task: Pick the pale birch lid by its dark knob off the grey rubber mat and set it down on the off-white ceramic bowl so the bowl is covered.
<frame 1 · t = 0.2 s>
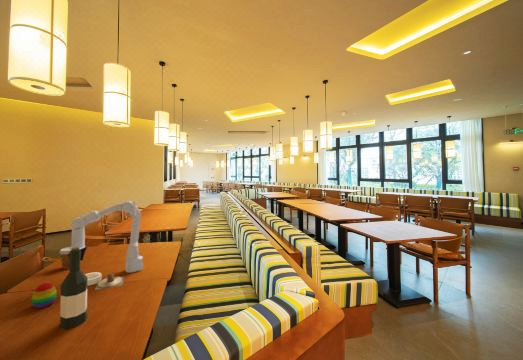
hand: (77, 262, 125), 10 cm above the table, fingers open, 7 cm apart
decorative egg: (44, 305, 101), on the table
wine bottle: (73, 322, 90), on the table
mat: (110, 284, 121), on the table
disposable coffee cup: (69, 267, 142), on the table
bowl: (89, 283, 122), on the table
lid: (110, 282, 121), point 1 cm above the table, touching mat
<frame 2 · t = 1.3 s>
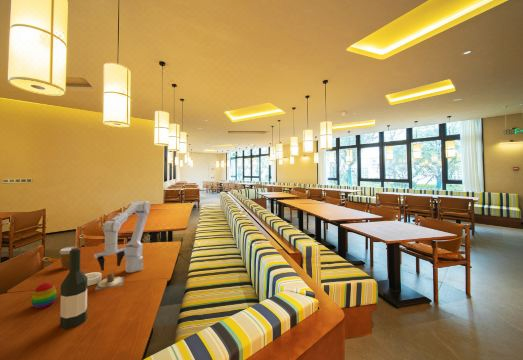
hand: (110, 267, 121), 9 cm above the table, fingers open, 7 cm apart
nothing on the table moved.
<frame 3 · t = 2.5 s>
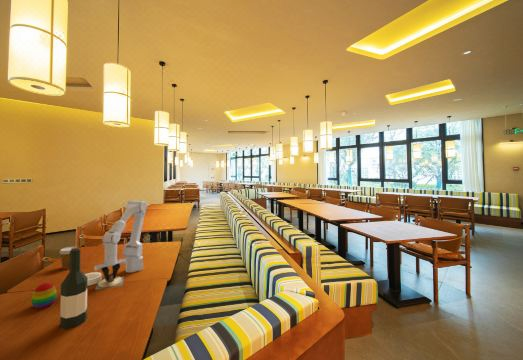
hand: (110, 279, 121), 3 cm above the table, fingers closed on lid, 3 cm apart
lid: (110, 282, 121), point 1 cm above the table, touching gripper, mat
everything else where it was.
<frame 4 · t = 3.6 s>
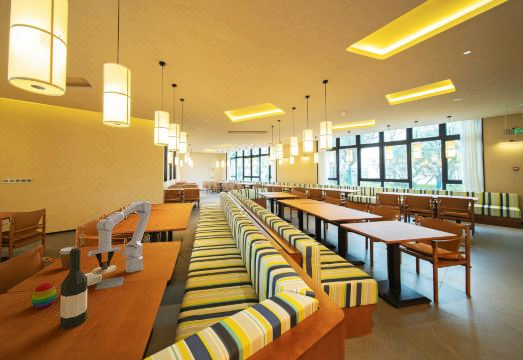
hand: (104, 266, 121), 10 cm above the table, fingers closed on lid, 3 cm apart
lid: (104, 270, 121), point 8 cm above the table, touching gripper
everything else where it was.
when the fingers open (7 cm above the table, at t = 4.9 s): lid stays where it is, resting on bowl.
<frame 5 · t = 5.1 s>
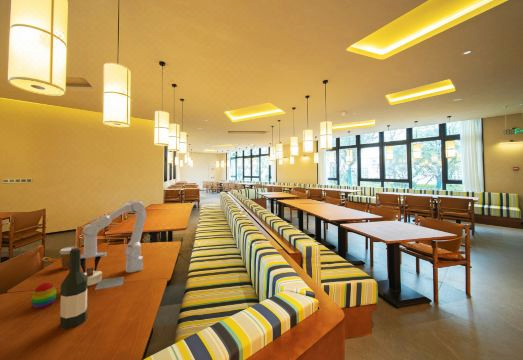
hand: (90, 271, 122), 7 cm above the table, fingers open, 4 cm apart
lid: (89, 276, 121), point 4 cm above the table, touching bowl
everything else where it was.
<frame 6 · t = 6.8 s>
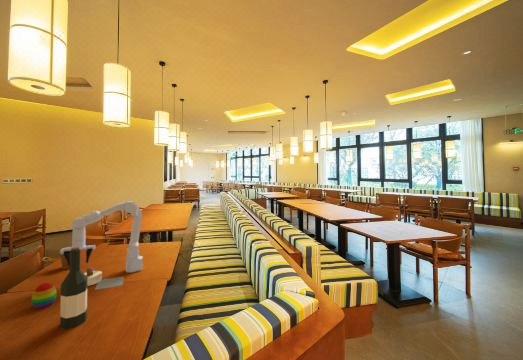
hand: (78, 263, 123), 10 cm above the table, fingers open, 7 cm apart
nothing on the table moved.
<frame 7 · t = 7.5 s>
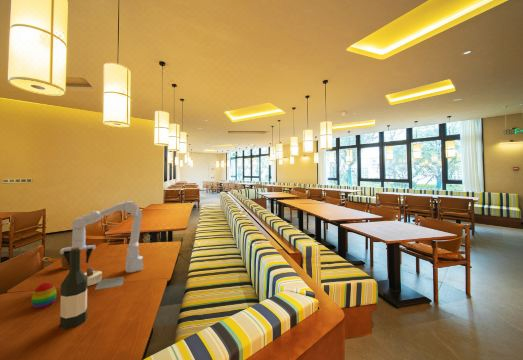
hand: (78, 263, 123), 10 cm above the table, fingers open, 7 cm apart
nothing on the table moved.
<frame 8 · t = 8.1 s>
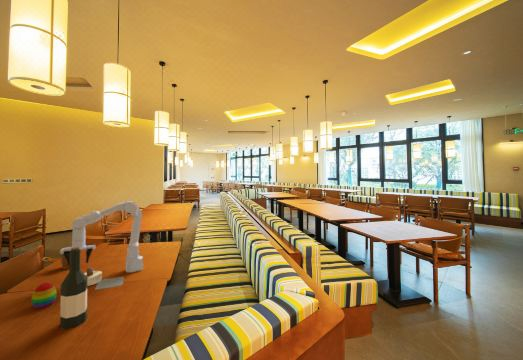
hand: (78, 263, 123), 10 cm above the table, fingers open, 7 cm apart
nothing on the table moved.
at the end: lid 0.3 cm from the bowl (horizontally); lid inside the target area (0.3 cm from its centre), point 4.0 cm above the table; the gripper is holding nothing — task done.
